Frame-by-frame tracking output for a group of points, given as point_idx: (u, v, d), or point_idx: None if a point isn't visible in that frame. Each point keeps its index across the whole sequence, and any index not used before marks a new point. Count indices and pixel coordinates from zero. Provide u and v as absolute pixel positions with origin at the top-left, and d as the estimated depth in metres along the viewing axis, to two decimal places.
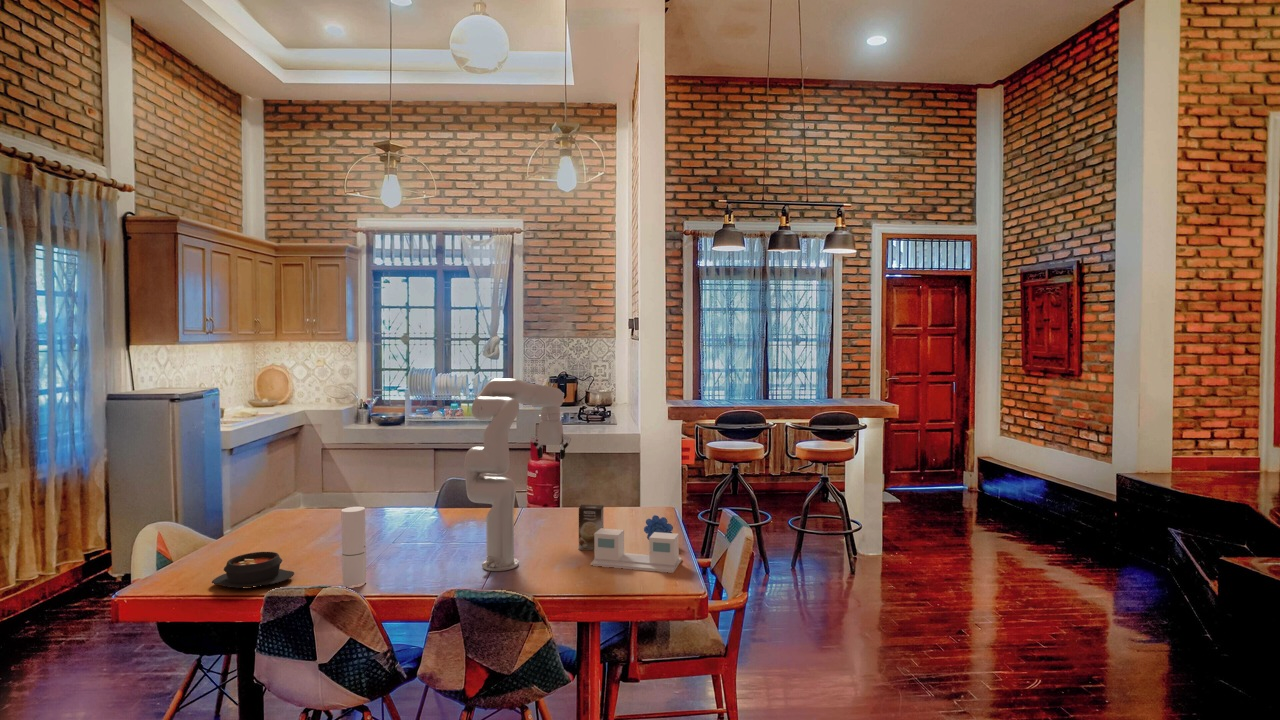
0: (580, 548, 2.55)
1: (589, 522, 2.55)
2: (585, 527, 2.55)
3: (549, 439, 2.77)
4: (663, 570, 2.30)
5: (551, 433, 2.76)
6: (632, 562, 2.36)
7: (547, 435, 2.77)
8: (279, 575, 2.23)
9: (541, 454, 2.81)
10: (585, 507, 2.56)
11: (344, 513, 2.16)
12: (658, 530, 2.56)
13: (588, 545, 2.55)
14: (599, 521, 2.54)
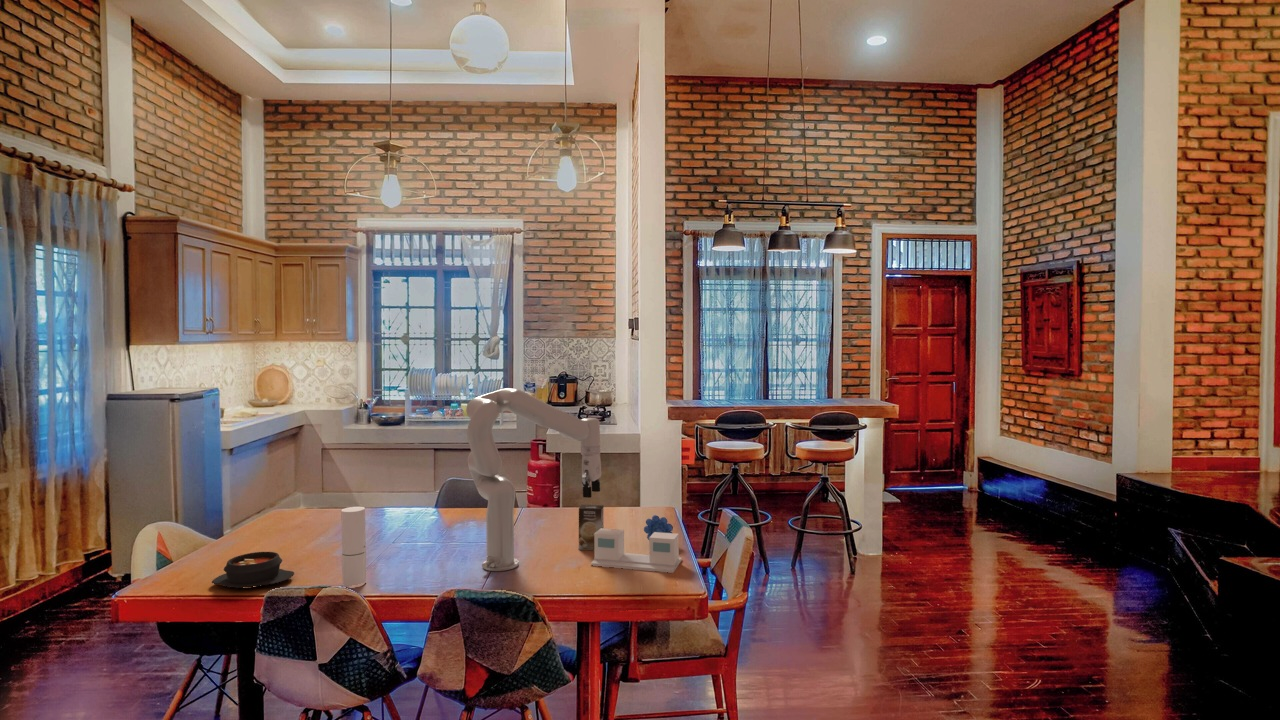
0: (580, 548, 2.55)
1: (589, 522, 2.55)
2: (585, 527, 2.55)
3: (598, 473, 2.57)
4: (663, 570, 2.30)
5: (599, 465, 2.58)
6: (632, 562, 2.36)
7: (597, 469, 2.56)
8: (279, 575, 2.23)
9: None
10: (585, 507, 2.56)
11: (344, 513, 2.16)
12: (658, 530, 2.56)
13: (588, 545, 2.55)
14: (599, 521, 2.54)
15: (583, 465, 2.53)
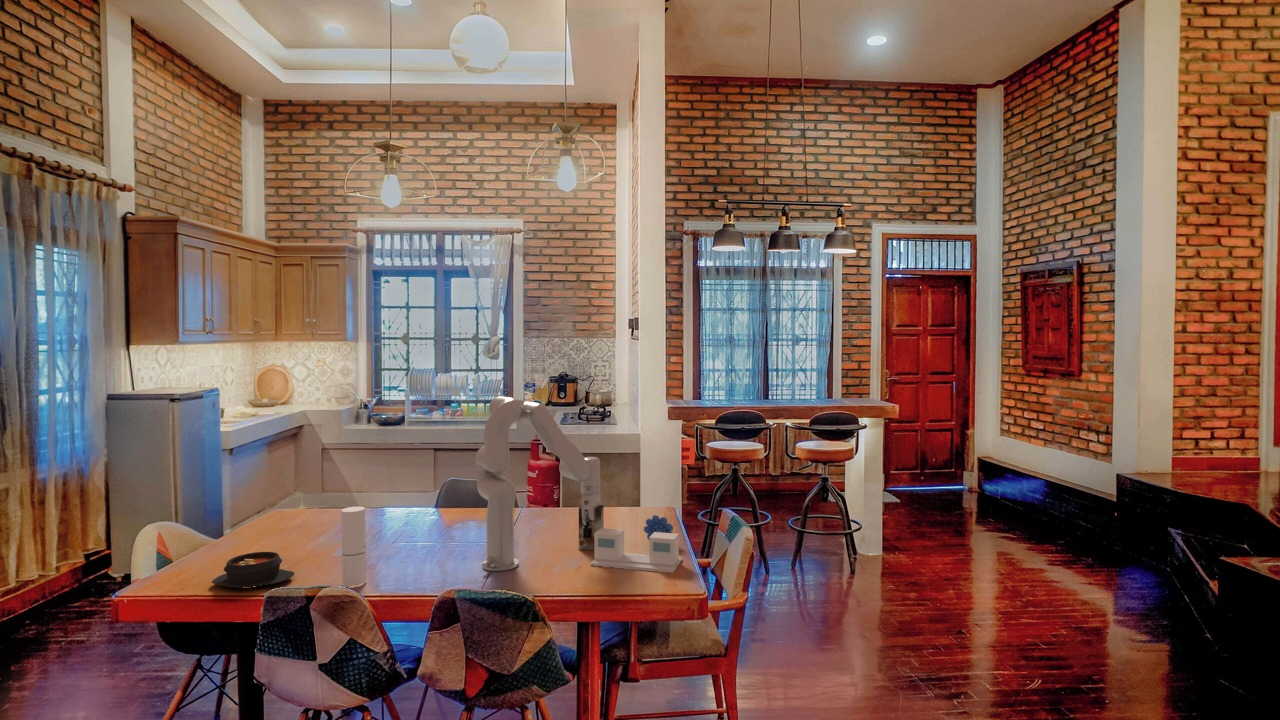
0: (580, 548, 2.55)
1: None
2: None
3: None
4: (663, 570, 2.30)
5: (598, 504, 2.58)
6: (632, 562, 2.36)
7: None
8: (279, 575, 2.23)
9: None
10: None
11: (344, 513, 2.16)
12: (658, 530, 2.56)
13: (588, 545, 2.55)
14: (599, 521, 2.54)
15: (583, 505, 2.53)
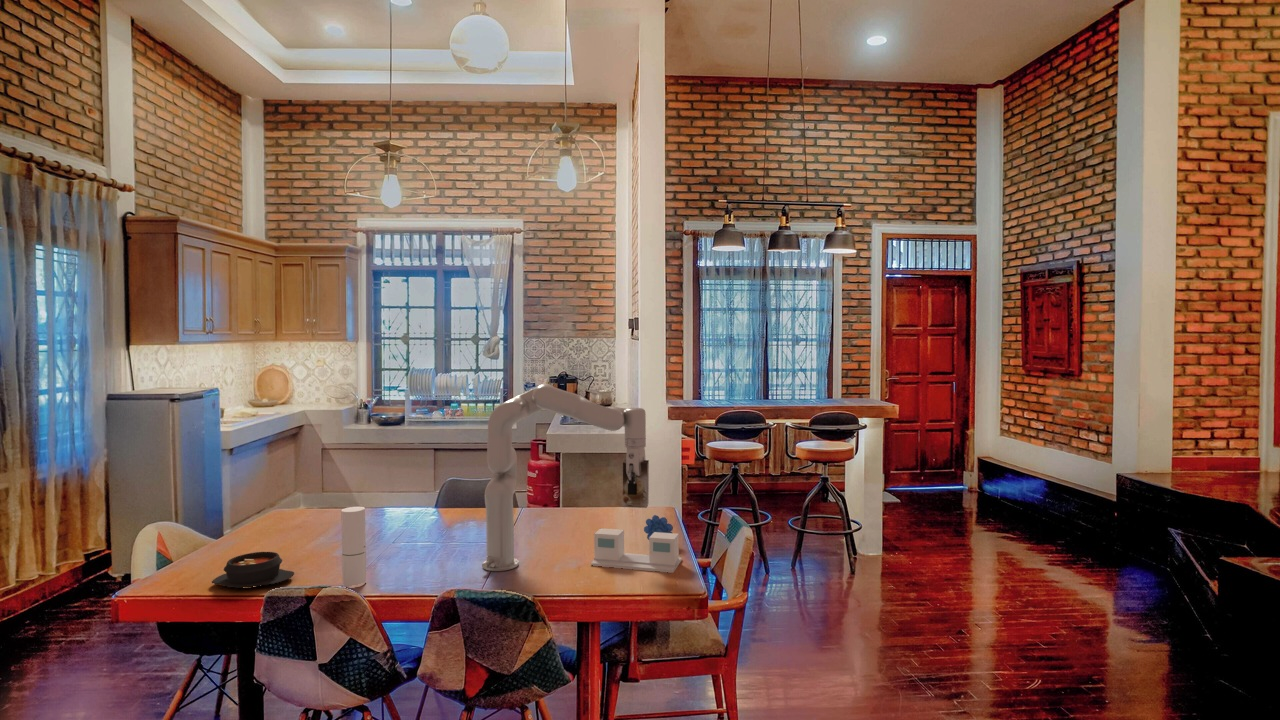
0: (624, 505, 2.37)
1: None
2: None
3: None
4: (663, 570, 2.30)
5: (643, 459, 2.39)
6: (632, 562, 2.36)
7: None
8: (279, 575, 2.23)
9: None
10: None
11: (344, 513, 2.16)
12: (658, 530, 2.56)
13: (633, 503, 2.36)
14: (645, 476, 2.35)
15: (628, 458, 2.34)
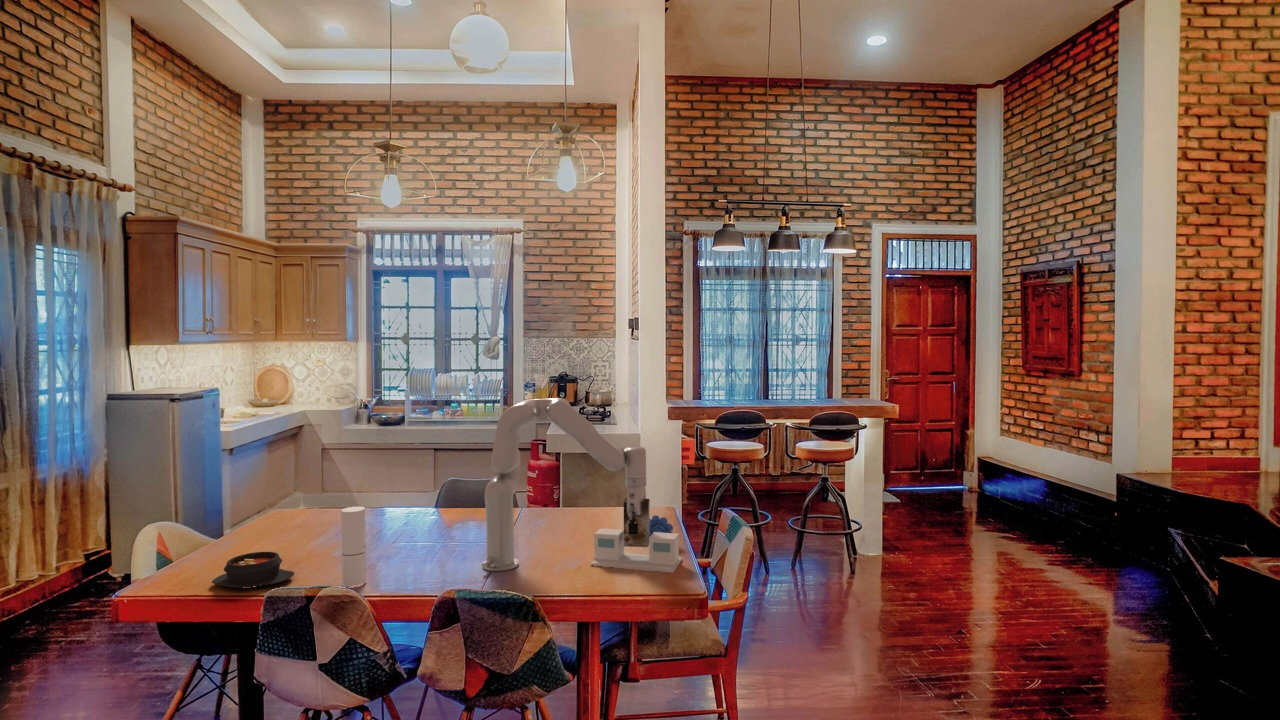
0: (625, 545, 2.37)
1: None
2: None
3: None
4: (663, 570, 2.30)
5: (644, 498, 2.40)
6: (632, 562, 2.36)
7: None
8: (279, 575, 2.23)
9: None
10: None
11: (344, 513, 2.16)
12: (658, 530, 2.56)
13: (634, 542, 2.36)
14: (646, 516, 2.36)
15: (628, 498, 2.35)
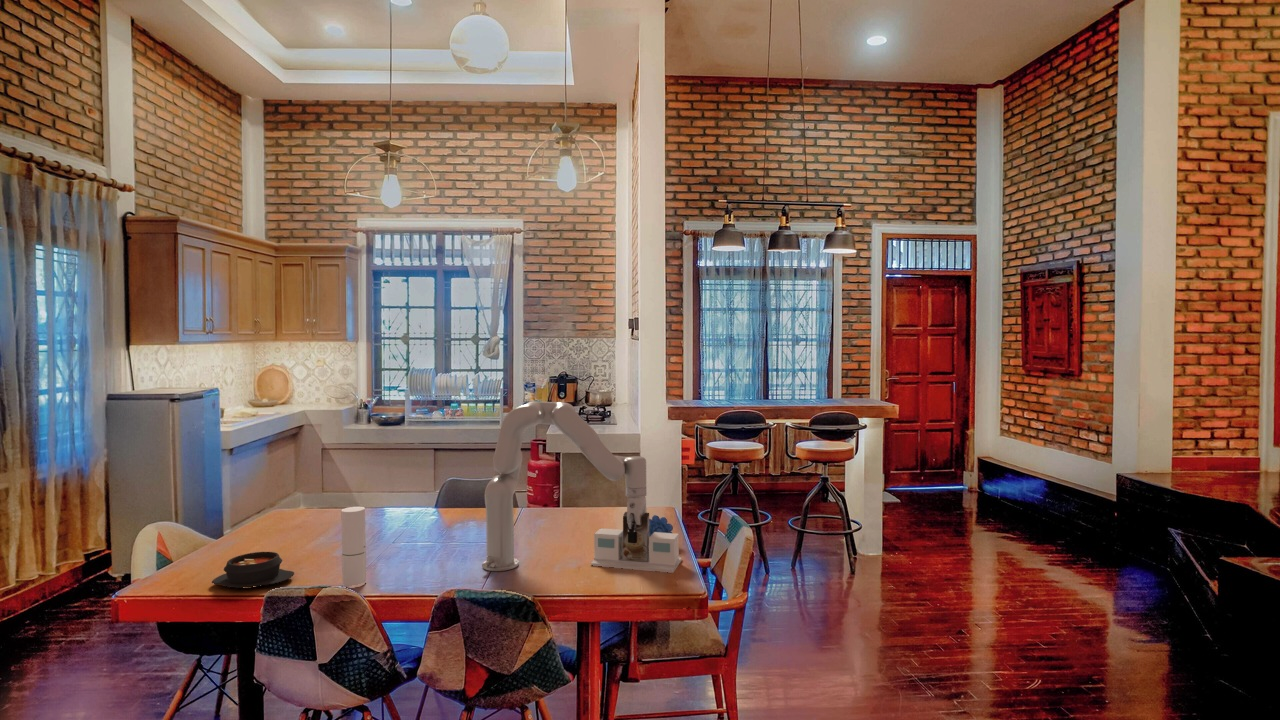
0: (624, 559, 2.37)
1: None
2: None
3: None
4: (663, 570, 2.30)
5: (644, 507, 2.40)
6: (632, 562, 2.36)
7: (643, 512, 2.38)
8: (279, 575, 2.23)
9: None
10: None
11: (344, 513, 2.16)
12: (658, 530, 2.56)
13: (633, 556, 2.36)
14: (645, 530, 2.35)
15: (628, 508, 2.35)
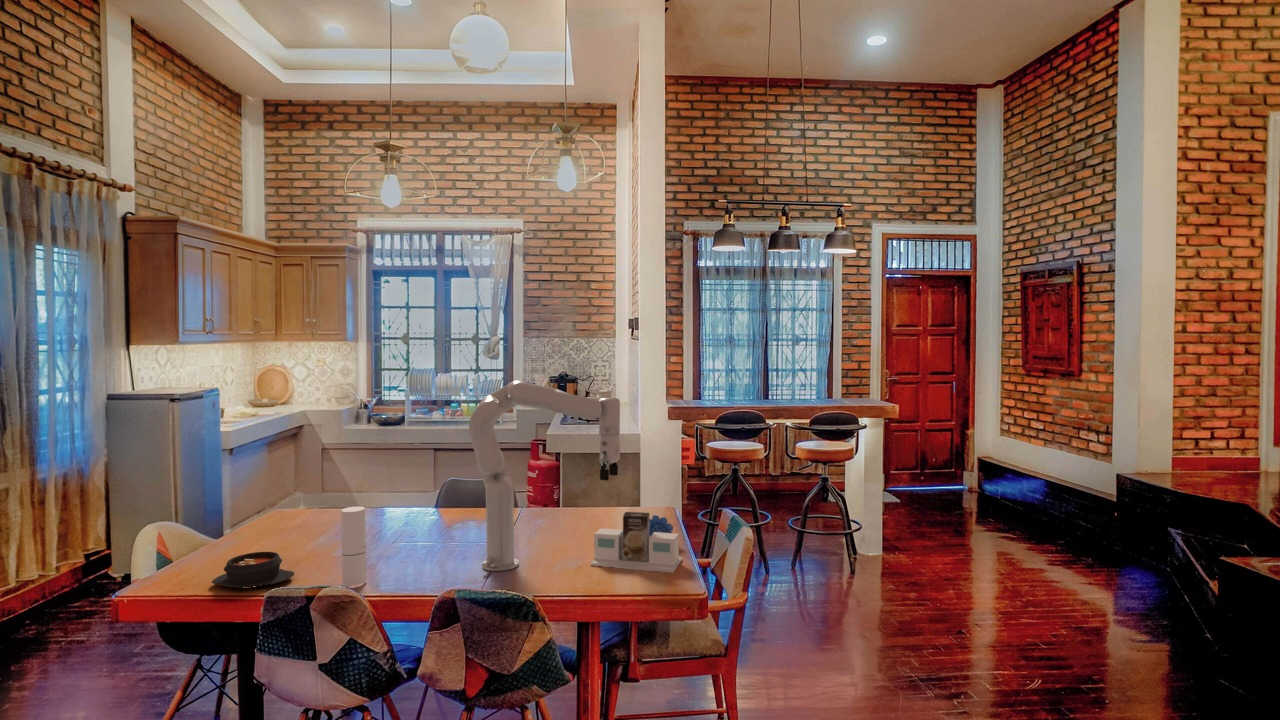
0: (624, 559, 2.37)
1: (635, 530, 2.36)
2: (630, 536, 2.36)
3: (616, 455, 2.46)
4: (663, 570, 2.30)
5: (617, 447, 2.47)
6: (632, 562, 2.36)
7: (615, 451, 2.45)
8: (279, 575, 2.23)
9: None
10: (630, 515, 2.38)
11: (344, 513, 2.16)
12: (658, 530, 2.56)
13: (633, 556, 2.36)
14: (645, 530, 2.36)
15: (601, 446, 2.42)
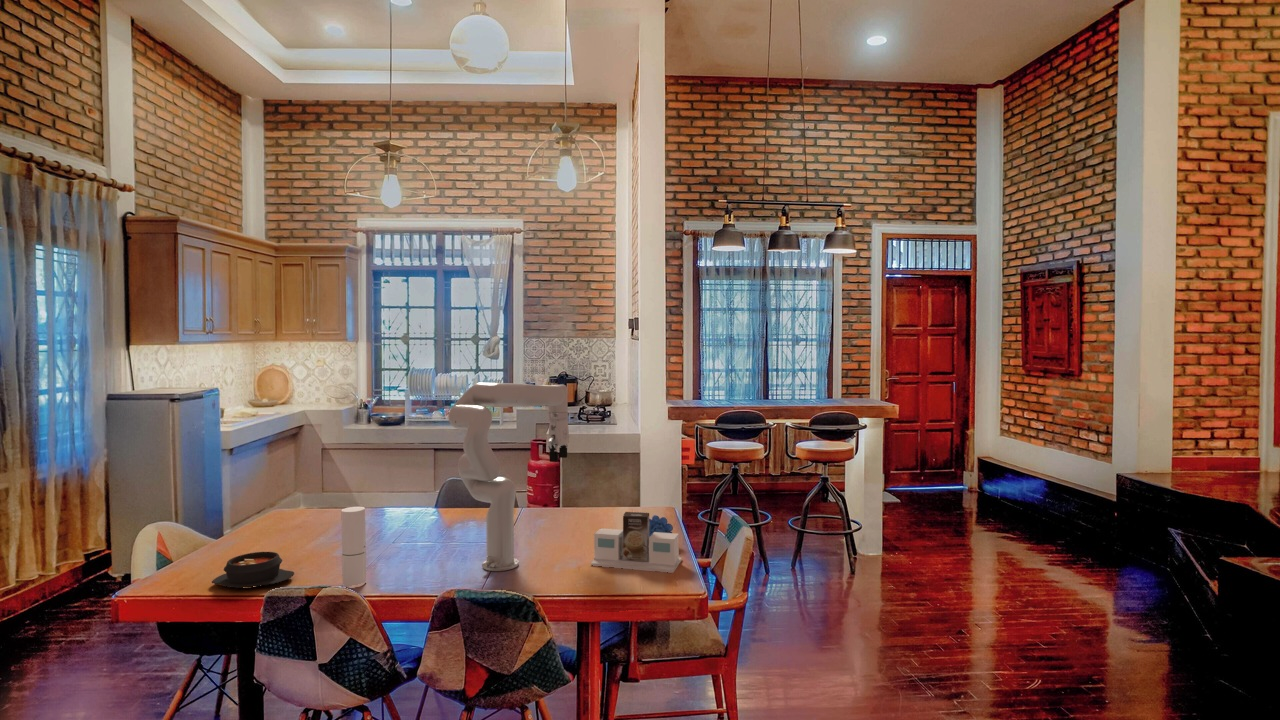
0: (624, 559, 2.37)
1: (635, 530, 2.36)
2: (630, 536, 2.36)
3: (565, 438, 2.62)
4: (663, 570, 2.30)
5: (566, 431, 2.63)
6: (632, 562, 2.36)
7: (564, 434, 2.62)
8: (279, 575, 2.23)
9: None
10: (630, 515, 2.38)
11: (344, 513, 2.16)
12: (658, 530, 2.56)
13: (633, 556, 2.36)
14: (645, 530, 2.36)
15: (550, 430, 2.58)
